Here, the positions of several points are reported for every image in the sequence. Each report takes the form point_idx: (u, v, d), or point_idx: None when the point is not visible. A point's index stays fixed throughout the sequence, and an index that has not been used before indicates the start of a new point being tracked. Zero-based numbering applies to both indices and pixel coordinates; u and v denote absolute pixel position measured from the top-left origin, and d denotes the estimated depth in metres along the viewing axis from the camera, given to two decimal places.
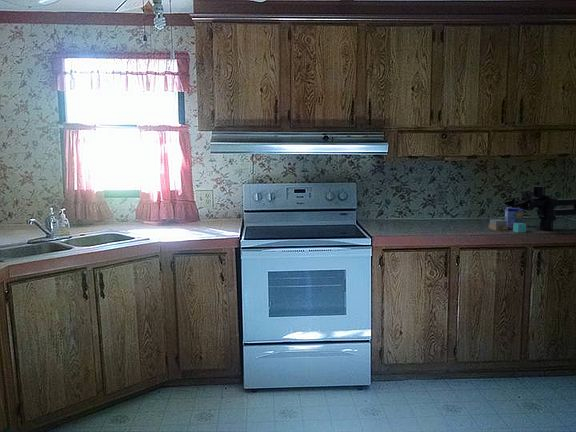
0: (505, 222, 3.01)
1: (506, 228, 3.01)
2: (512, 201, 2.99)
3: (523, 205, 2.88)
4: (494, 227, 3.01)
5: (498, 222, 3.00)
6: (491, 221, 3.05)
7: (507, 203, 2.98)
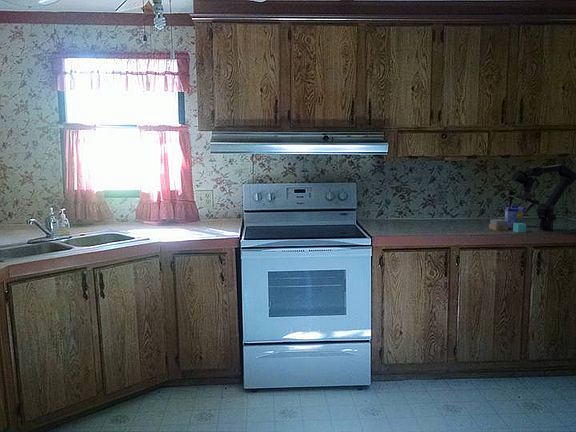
0: (506, 222, 3.00)
1: (506, 228, 3.01)
2: None
3: None
4: (494, 227, 3.01)
5: (499, 222, 3.00)
6: (492, 221, 3.05)
7: None
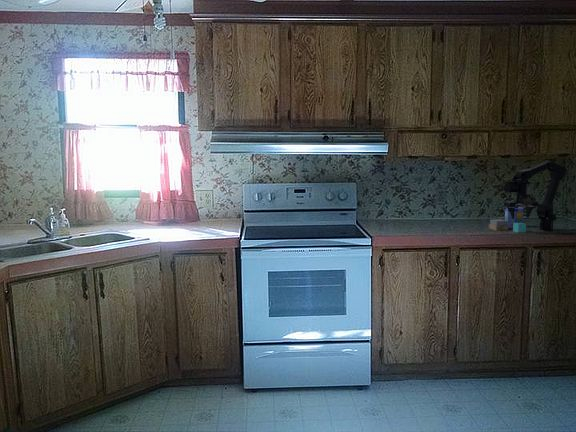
0: (506, 222, 3.01)
1: (506, 228, 3.01)
2: None
3: None
4: (494, 227, 3.01)
5: (499, 222, 3.00)
6: (491, 221, 3.05)
7: None
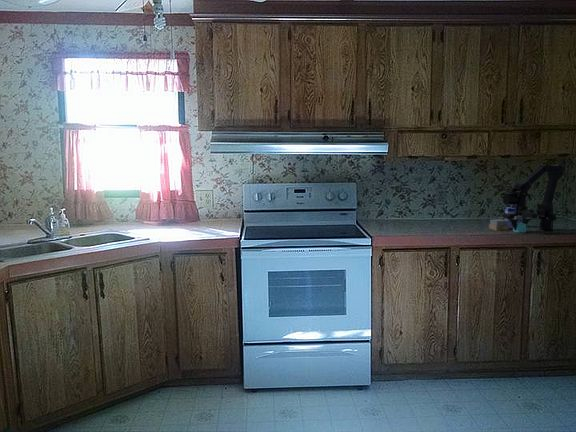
0: (506, 222, 3.01)
1: (506, 228, 3.00)
2: None
3: None
4: (494, 227, 3.01)
5: (499, 222, 3.00)
6: (491, 221, 3.05)
7: None
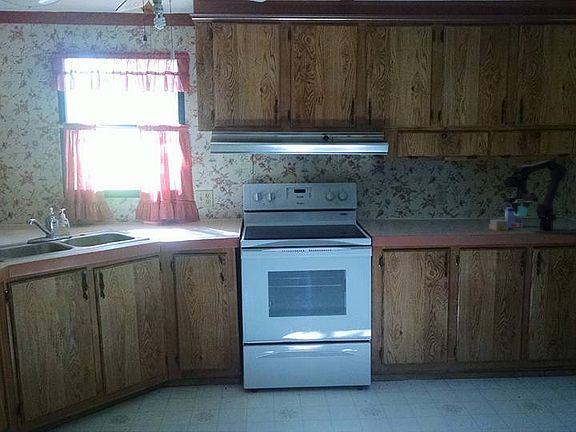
0: (505, 222, 3.01)
1: (506, 228, 3.00)
2: None
3: None
4: (494, 227, 3.01)
5: (498, 222, 3.00)
6: (491, 221, 3.05)
7: None
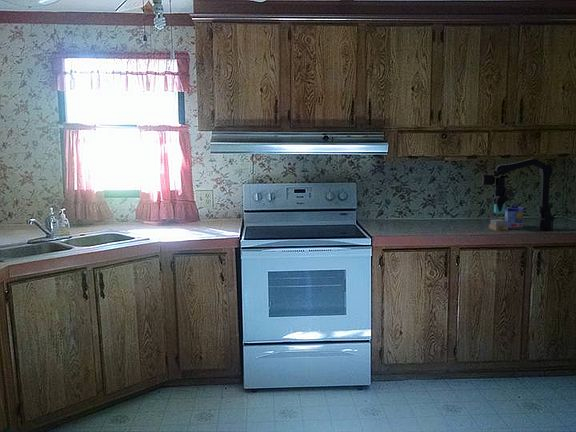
0: (505, 222, 3.00)
1: (506, 228, 3.00)
2: None
3: None
4: (494, 227, 3.01)
5: (498, 222, 3.00)
6: (492, 221, 3.05)
7: None
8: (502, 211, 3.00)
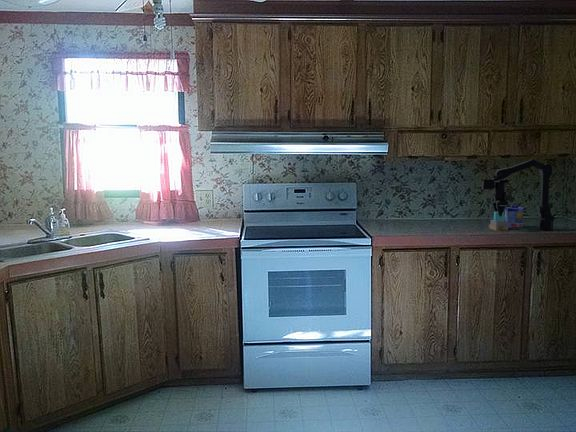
0: (506, 222, 3.00)
1: (506, 228, 3.00)
2: None
3: None
4: (494, 227, 3.01)
5: (498, 222, 3.00)
6: (492, 221, 3.05)
7: None
8: (502, 219, 3.01)
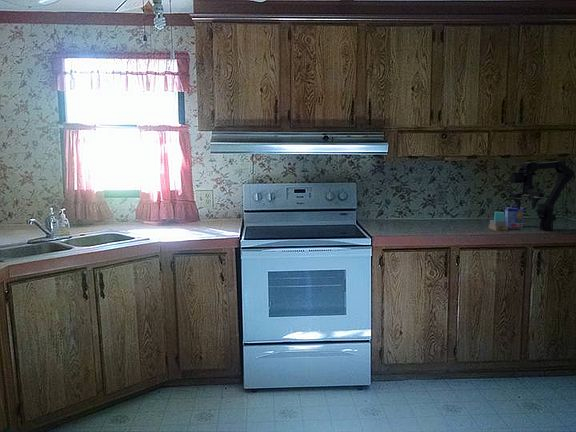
0: (505, 222, 3.00)
1: (506, 228, 3.00)
2: None
3: None
4: (494, 227, 3.01)
5: (498, 222, 3.00)
6: (491, 221, 3.05)
7: None
8: (502, 219, 3.00)
